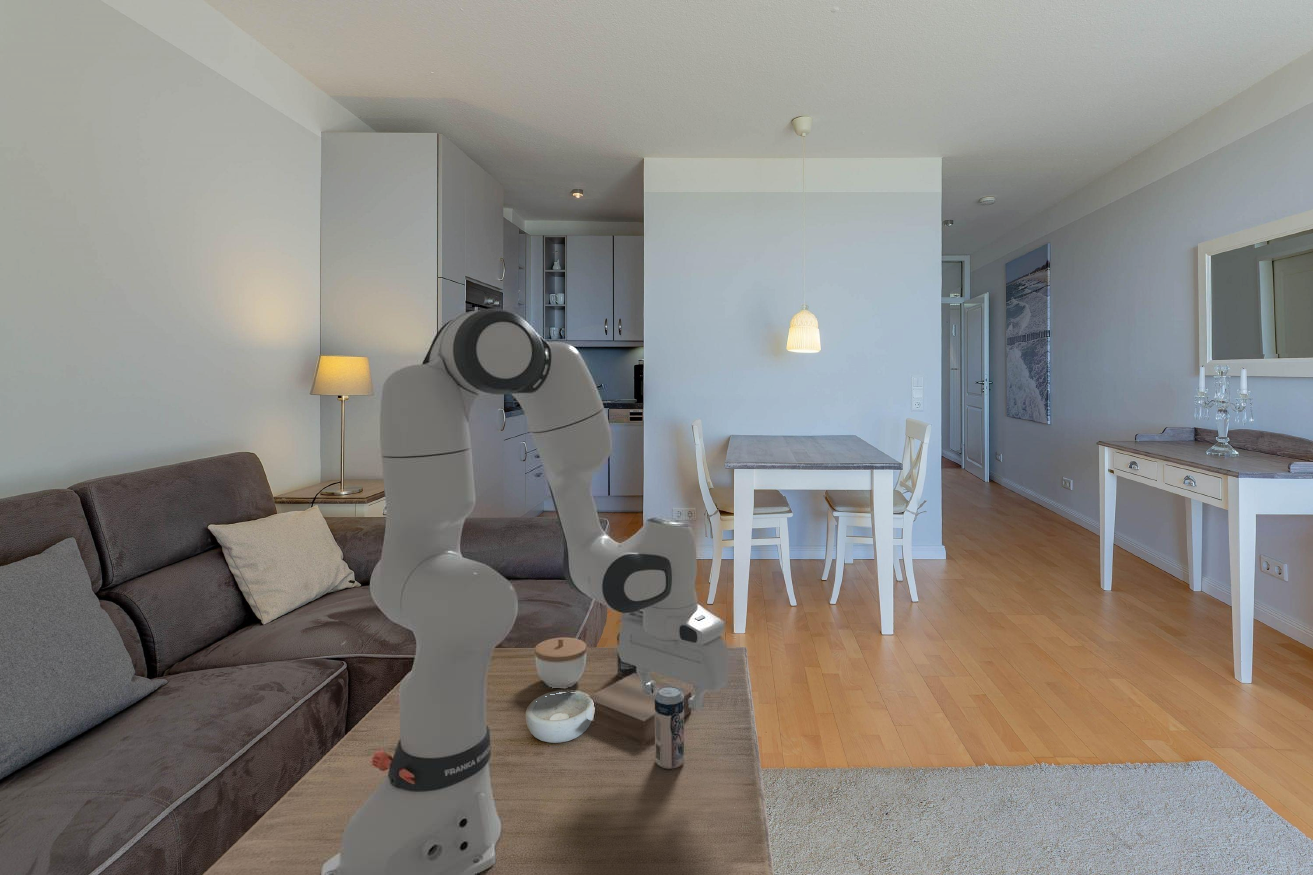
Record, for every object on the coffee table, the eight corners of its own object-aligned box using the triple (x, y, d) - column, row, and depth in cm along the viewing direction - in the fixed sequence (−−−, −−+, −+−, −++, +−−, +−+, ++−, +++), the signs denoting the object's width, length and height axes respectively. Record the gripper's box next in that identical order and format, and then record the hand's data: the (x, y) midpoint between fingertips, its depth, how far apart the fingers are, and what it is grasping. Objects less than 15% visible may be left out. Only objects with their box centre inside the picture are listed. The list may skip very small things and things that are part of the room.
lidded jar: (529, 677, 139) (528, 634, 139) (577, 668, 144) (577, 626, 143) (542, 698, 130) (542, 652, 129) (594, 688, 134) (593, 643, 134)
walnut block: (644, 743, 113) (644, 720, 112) (585, 718, 121) (585, 698, 121) (691, 712, 124) (691, 691, 123) (634, 691, 132) (634, 672, 132)
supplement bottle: (646, 669, 143) (646, 618, 143) (643, 680, 137) (643, 628, 137) (619, 668, 144) (619, 617, 143) (615, 679, 138) (614, 627, 137)
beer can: (681, 772, 104) (681, 699, 103) (652, 769, 105) (651, 696, 104) (686, 756, 109) (686, 685, 108) (658, 753, 110) (657, 683, 109)
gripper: (609, 610, 109) (611, 689, 110) (711, 637, 97) (712, 727, 98) (633, 600, 114) (635, 676, 115) (734, 624, 101) (734, 710, 103)
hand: (671, 700), depth 106 cm, fingers open, 8 cm apart
